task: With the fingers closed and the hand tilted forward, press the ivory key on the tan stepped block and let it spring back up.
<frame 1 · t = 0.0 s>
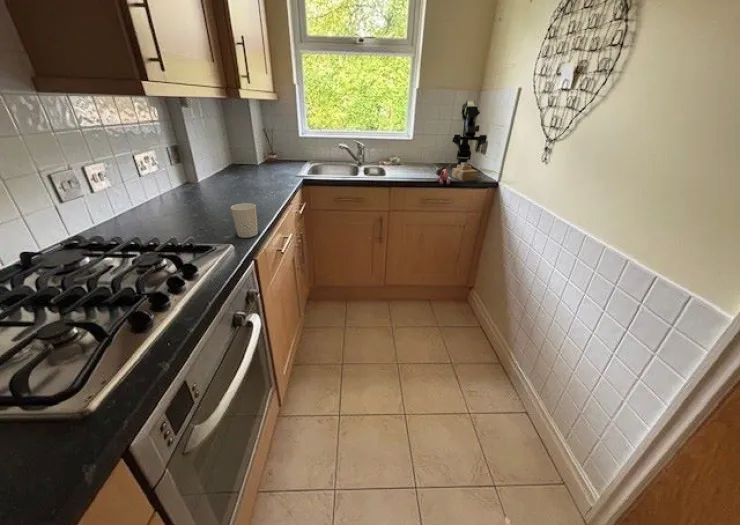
hand: (468, 152, 190), 15 cm above the worktop, tool tilted 35°, fingers open, 9 cm apart
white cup: (248, 234, 115), on the worktop
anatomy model: (442, 182, 189), on the worktop
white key: (464, 164, 197), point 7 cm above the worktop, slide at 0.1 cm
tan stepped block: (464, 178, 197), on the worktop
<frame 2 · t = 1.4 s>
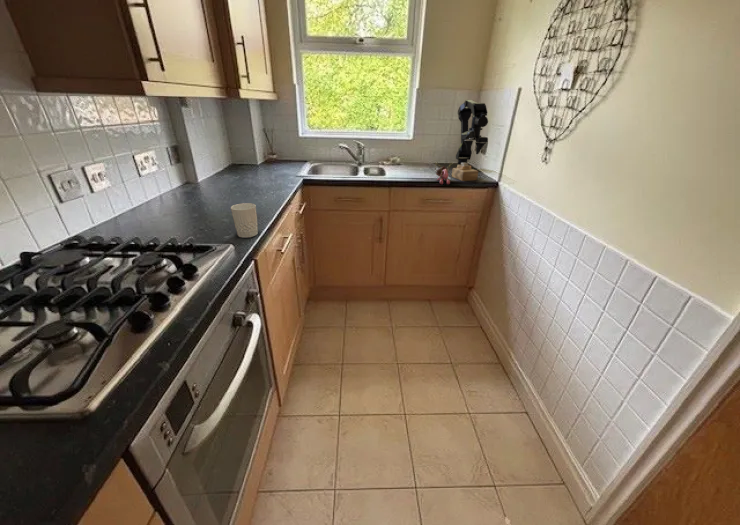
hand: (472, 153, 204), 12 cm above the worktop, tool pointing down, fingers open, 9 cm apart
nothing on the worktop moved.
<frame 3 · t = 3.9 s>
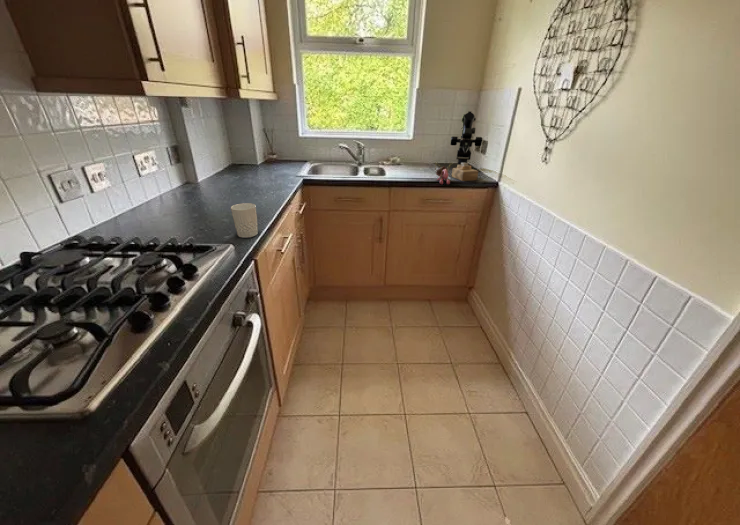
hand: (465, 152, 203), 13 cm above the worktop, tool tilted 45°, fingers closed
nothing on the worktop moved.
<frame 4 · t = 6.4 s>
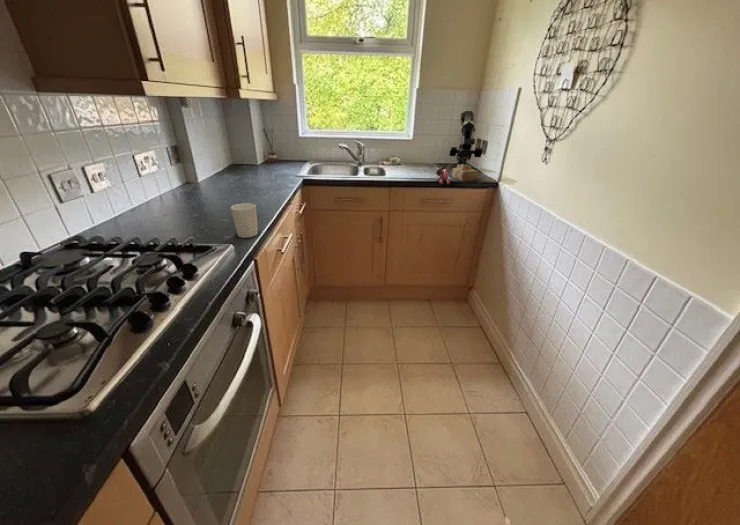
hand: (464, 163, 197), 8 cm above the worktop, tool tilted 45°, fingers closed, pressing on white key
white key: (464, 165, 197), point 7 cm above the worktop, slide at -0.7 cm, touching gripper
everything else where it was.
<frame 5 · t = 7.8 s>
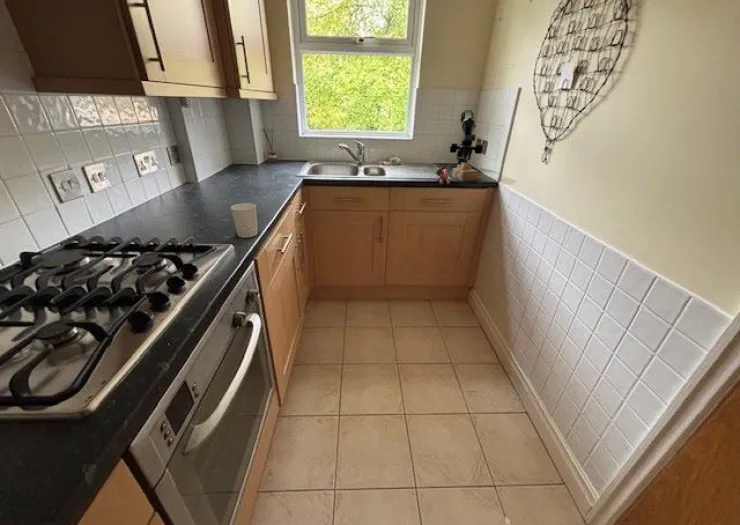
hand: (465, 160, 196), 10 cm above the worktop, tool tilted 45°, fingers closed
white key: (464, 164, 197), point 7 cm above the worktop, slide at 0.1 cm
everything else where it was.
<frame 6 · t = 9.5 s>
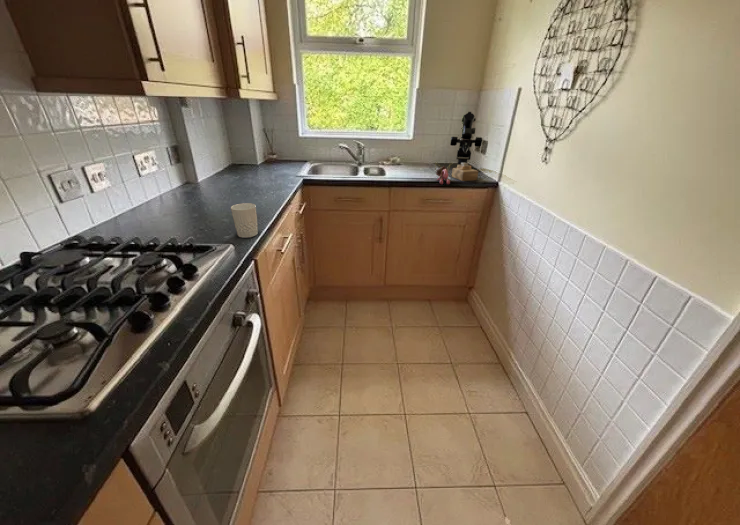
hand: (465, 152, 203), 13 cm above the worktop, tool tilted 45°, fingers closed
nothing on the worktop moved.
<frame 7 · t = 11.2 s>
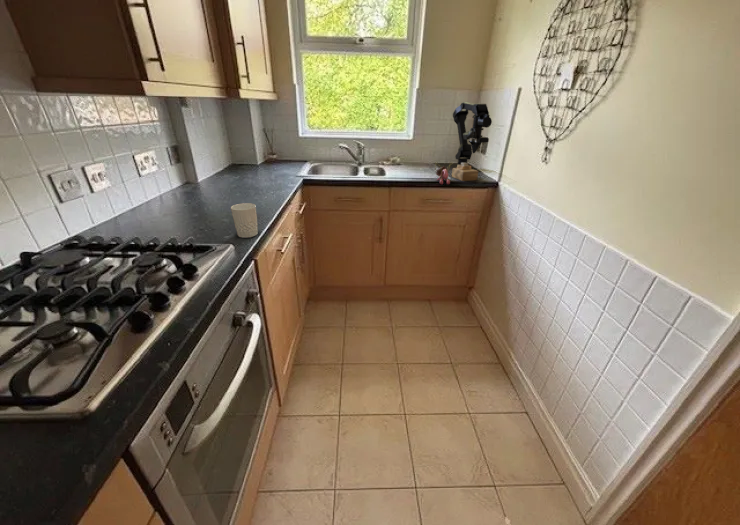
hand: (473, 153, 208), 12 cm above the worktop, tool pointing down, fingers closed
nothing on the worktop moved.
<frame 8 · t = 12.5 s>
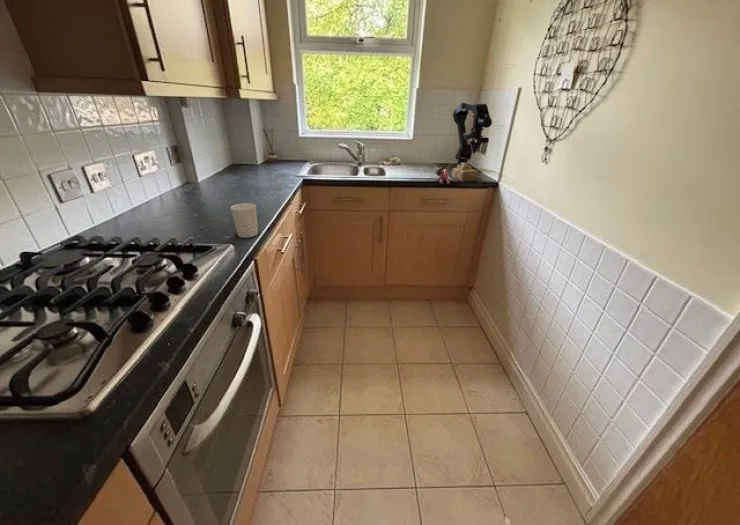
hand: (473, 153, 208), 12 cm above the worktop, tool pointing down, fingers closed
nothing on the worktop moved.
at the end: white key pushed in 1.3 cm at the most during the clip, back to where it started at the end; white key slide at 0.1 cm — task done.
